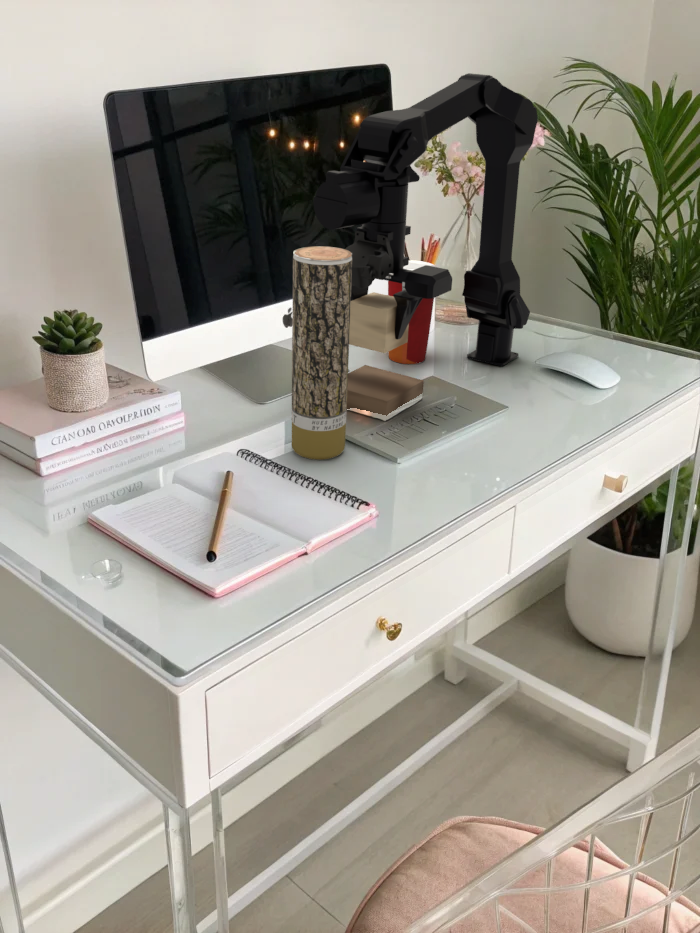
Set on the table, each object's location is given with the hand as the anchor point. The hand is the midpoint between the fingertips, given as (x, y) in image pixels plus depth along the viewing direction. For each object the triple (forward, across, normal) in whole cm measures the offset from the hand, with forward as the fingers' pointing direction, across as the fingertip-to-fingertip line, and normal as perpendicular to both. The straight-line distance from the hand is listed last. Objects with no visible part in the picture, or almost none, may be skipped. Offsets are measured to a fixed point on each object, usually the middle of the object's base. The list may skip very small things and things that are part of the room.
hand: (378, 333), depth 127 cm
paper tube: (+10, +3, -18) cm, 21 cm away
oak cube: (+1, 0, 0) cm, 1 cm away
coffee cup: (+10, -6, +19) cm, 22 cm away
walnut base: (+10, 0, 0) cm, 10 cm away
